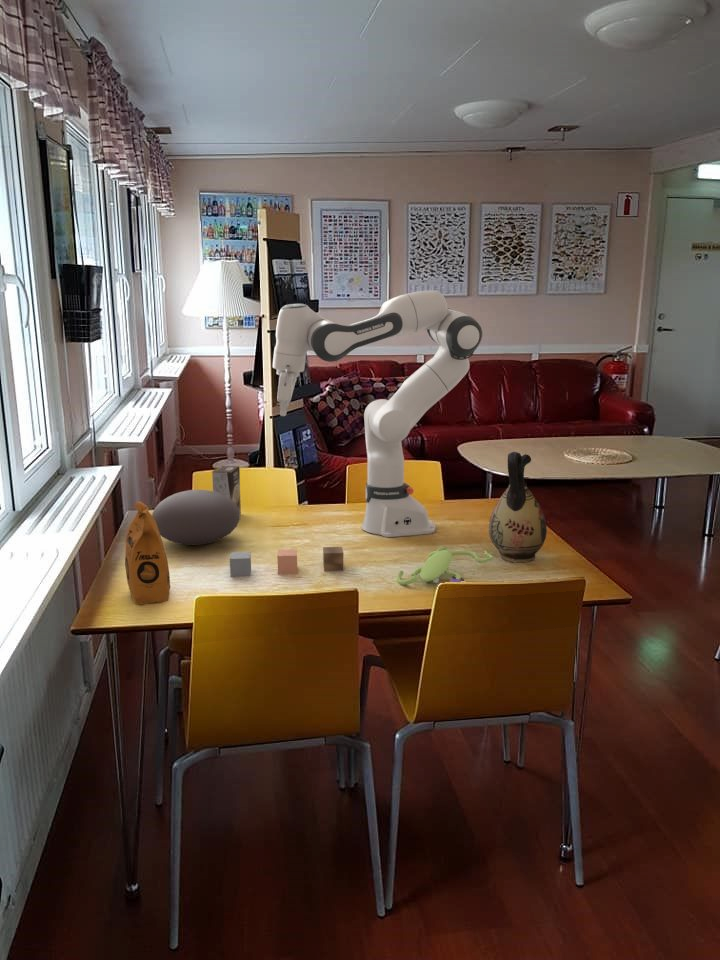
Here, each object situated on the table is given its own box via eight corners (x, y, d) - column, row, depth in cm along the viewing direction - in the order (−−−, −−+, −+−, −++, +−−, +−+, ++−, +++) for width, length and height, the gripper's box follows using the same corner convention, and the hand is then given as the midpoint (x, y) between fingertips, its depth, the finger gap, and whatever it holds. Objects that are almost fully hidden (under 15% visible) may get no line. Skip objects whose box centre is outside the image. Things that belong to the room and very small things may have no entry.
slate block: (251, 569, 199) (250, 551, 198) (250, 576, 194) (249, 558, 193) (231, 570, 198) (231, 552, 197) (230, 577, 193) (229, 558, 192)
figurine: (499, 568, 201) (500, 549, 200) (454, 600, 180) (454, 578, 179) (439, 555, 211) (440, 536, 210) (389, 584, 190) (390, 563, 189)
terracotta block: (297, 567, 201) (296, 549, 200) (297, 573, 196) (297, 555, 195) (278, 567, 200) (277, 549, 199) (277, 574, 196) (277, 556, 194)
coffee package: (127, 607, 174) (120, 515, 169) (127, 588, 186) (120, 501, 181) (172, 602, 177) (166, 512, 172) (168, 583, 189) (163, 498, 183)
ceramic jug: (497, 545, 219) (502, 442, 211) (550, 553, 212) (557, 448, 205) (477, 563, 204) (482, 453, 197) (534, 572, 197) (541, 459, 190)
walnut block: (342, 564, 203) (341, 546, 202) (343, 571, 198) (343, 552, 197) (323, 565, 202) (323, 547, 201) (324, 571, 198) (324, 553, 196)
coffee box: (233, 521, 240) (231, 472, 236) (213, 521, 241) (211, 471, 237) (241, 513, 249) (239, 465, 245) (222, 512, 250) (220, 465, 246)
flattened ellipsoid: (241, 553, 211) (239, 501, 207) (148, 557, 207) (145, 505, 203) (240, 526, 235) (238, 480, 231) (157, 530, 231) (154, 483, 227)
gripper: (298, 370, 200) (293, 421, 205) (301, 358, 220) (296, 405, 224) (274, 367, 200) (269, 418, 204) (280, 356, 219) (275, 402, 224)
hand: (284, 411), depth 214 cm, fingers open, 8 cm apart
